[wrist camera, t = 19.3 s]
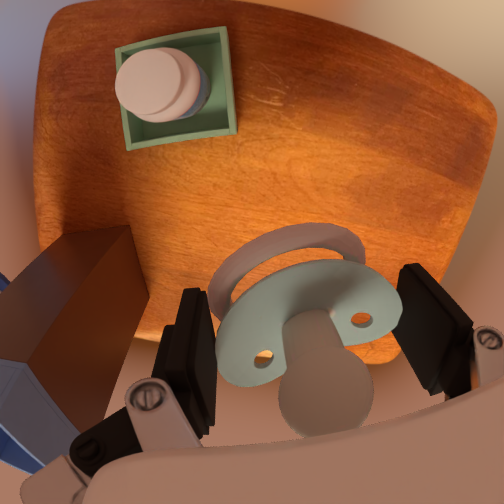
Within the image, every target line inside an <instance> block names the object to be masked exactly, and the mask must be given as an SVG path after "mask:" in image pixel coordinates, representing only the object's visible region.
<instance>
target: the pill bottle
mask: <svg viewBox="0 0 504 504" xmlns="http://www.w3.org/2000/svg"><path fill="white" fill-rule="evenodd" d="M115 91H116V95H117V98H118V100H119V102H120V103H121V105H122V106H123V107H124V108H125V109H127V110H128V111H130V112H132V113H133V114H134V115H136V116H137V117H139V118H140V119H142V120H145V121H149V122H167V121H172V120H178V119H184V118H188V117H191V116H193V115H195V114H196V113H198V112H199V111H200V110H201V109H202V108H203V107H204V106H205V105H206V103H207V101H208V99H209V96H210V92H211V84H210V80H209V78H208V76H207V74H206V72H205V71H204V70H203V69H202V68H201V67H200V66H199V65H198V64H197V63H196V62H195V61H194V60H192V59H191V58H190V57H189V56H188V55H187V54H185V53H183V52H182V51H180V50H177V49H174V48H165V47H163V48H155V49H146V50H142V51H140V52H137V53H135V54H133V55H132V56H131V57H129V58H128V59H127V60H126V61H125V62H124V63H123V65H122V66H121V67H120V69H119V71H118V73H117V76H116V81H115Z"/></svg>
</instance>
